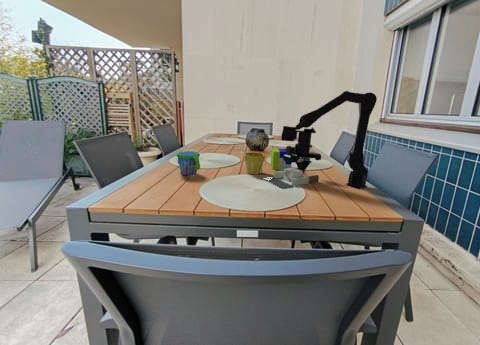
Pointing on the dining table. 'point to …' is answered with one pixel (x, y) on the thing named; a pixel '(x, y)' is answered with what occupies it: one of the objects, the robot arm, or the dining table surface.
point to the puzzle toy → (279, 159)
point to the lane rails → (299, 180)
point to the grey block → (292, 174)
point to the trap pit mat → (279, 183)
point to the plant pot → (254, 162)
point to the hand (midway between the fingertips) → (300, 174)
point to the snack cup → (188, 162)
